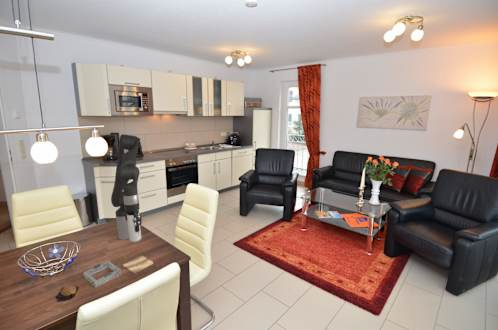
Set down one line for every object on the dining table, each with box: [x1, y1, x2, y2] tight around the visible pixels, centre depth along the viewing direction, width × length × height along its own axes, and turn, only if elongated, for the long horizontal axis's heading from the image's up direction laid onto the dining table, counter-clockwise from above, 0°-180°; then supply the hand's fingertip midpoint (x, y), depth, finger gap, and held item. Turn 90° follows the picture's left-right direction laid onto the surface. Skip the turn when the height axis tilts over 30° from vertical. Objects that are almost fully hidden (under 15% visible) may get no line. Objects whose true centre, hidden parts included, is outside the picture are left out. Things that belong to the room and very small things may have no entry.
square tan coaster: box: [122, 255, 154, 275], centre depth 149 cm, size 12×12×1 cm
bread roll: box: [55, 284, 79, 303], centre depth 125 cm, size 11×8×4 cm
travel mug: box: [127, 209, 142, 244], centre depth 143 cm, size 6×7×20 cm
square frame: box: [83, 260, 122, 289], centre depth 138 cm, size 13×13×4 cm
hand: (134, 229), depth 144 cm, fingers closed on travel mug, 6 cm apart
